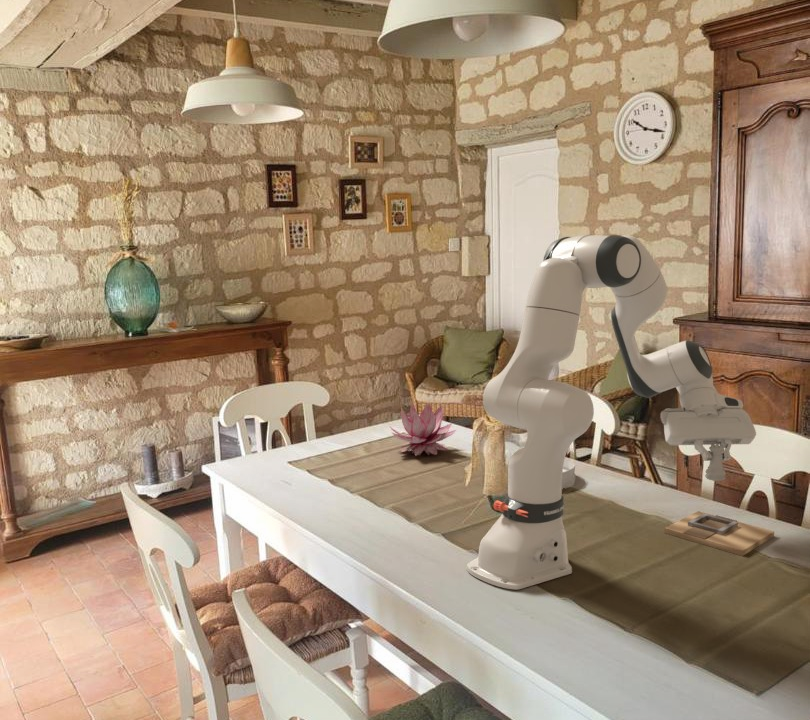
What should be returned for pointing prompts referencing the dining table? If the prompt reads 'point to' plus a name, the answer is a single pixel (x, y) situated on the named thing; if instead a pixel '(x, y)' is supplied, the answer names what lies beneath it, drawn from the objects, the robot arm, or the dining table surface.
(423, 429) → the decorative flower
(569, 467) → the dish
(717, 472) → the rook chess piece
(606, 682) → the dining table surface
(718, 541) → the oak board
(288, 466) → the dining table surface
